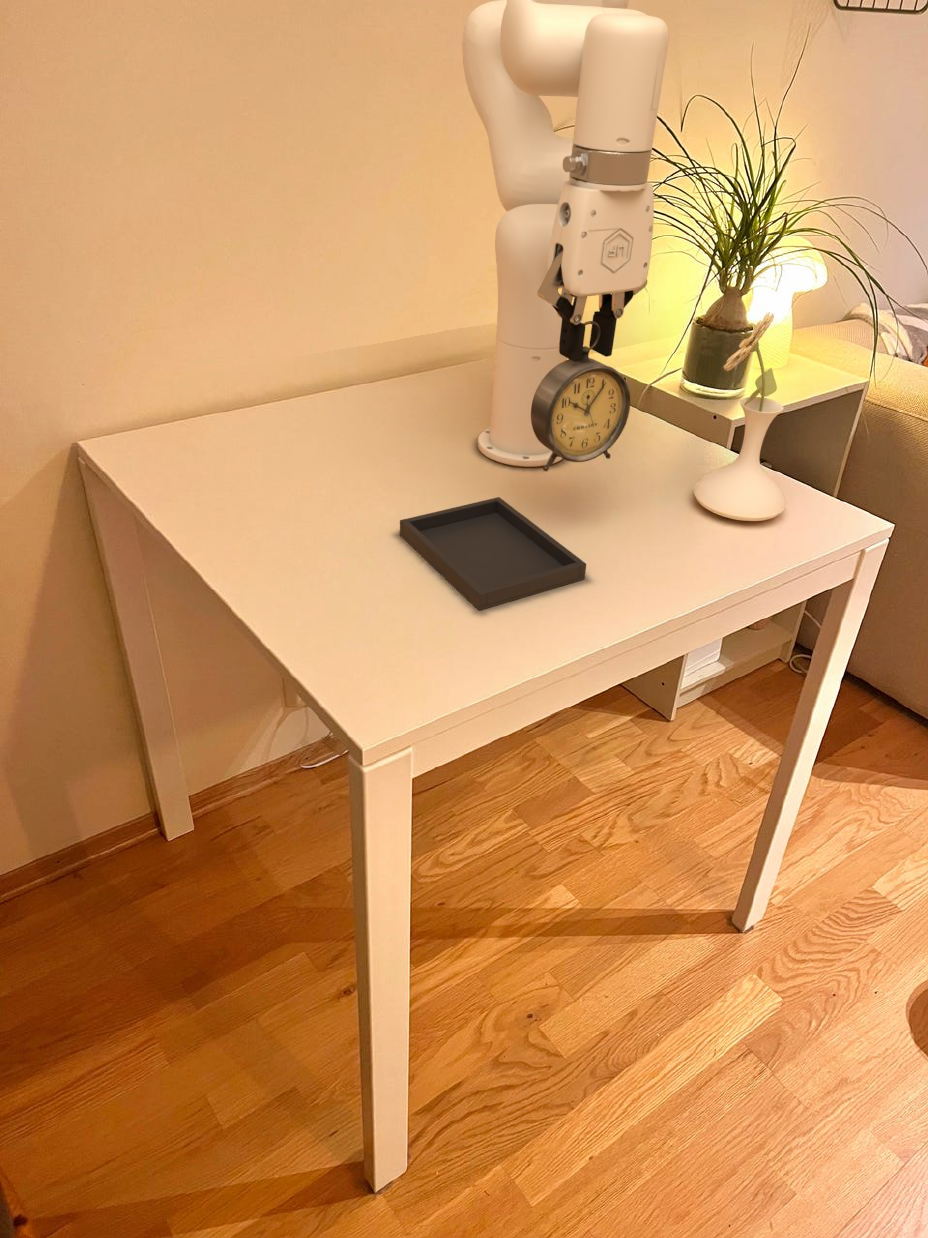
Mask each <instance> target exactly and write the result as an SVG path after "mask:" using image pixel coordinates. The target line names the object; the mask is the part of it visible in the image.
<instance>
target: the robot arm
mask: <svg viewBox="0 0 928 1238" xmlns="http://www.w3.org/2000/svg"><path fill="white" fill-rule="evenodd" d="M629 2H630V0H493V1H488V2H484V3H483V4H480V5H479V6H476V8H474V9H473V10H472V11H471V12H470V13H469V15H468V17H467V18H466V20H465V24H464V27H463V32H462V41H461V42H462V43H461V46H462V48H461V50H462V65H463V66H462V67H463V71H464V77H465V82H466V87H467V89H468V92H469V95H470V99H471V101H472V104H473V105H474V108H475V111H476V112H477V114H478V117H479V119H480V120H481V122H482V125H483V126H484V129H485V131H486V135H487V138H488V139H487V140H488V146H489V152H490V157H491V163H492V168H493V170H492V171H493V175H494V182H495V187H496V191H497V195H498V199H499V201H500V203H501V204H500V205H501V206H502V207H503V209H504V211H506V212H505V213H504V214H503V215H502V217H500V219H499V220H498V224H497V226H496V229H495V236H494V237H495V240H494V250H495V252H494V253H495V263H496V275H497V276H496V277H497V313H496V314H497V315H496V334H495V351H494V365H493V376H492V377H493V378H492V379H493V380H492V391H491V393H492V394H491V405H490V407H491V408H490V422H489V427H487V428H486V429H485V430H483V431H481V433H479V435H478V438H477V448H478V450H479V452H481V454H483V456H485V457H486V458H488V459H490V460H492V461H495V462H497V463H500V464H504V465H508V466H514V467H522V468H523V467H524V468H525V467H527V468H528V467H529V468H534V467H535V468H537V467H544V466H546V464H547V462H548V459H549V457H550V456H551V454H552V451H551V450H550V449H548V448H547V447H545V446H544V445H543V444H542V443H541V442H540V441H539V440H538V439H537V437H536V435H535V433H534V431H533V427H532V423H531V406H532V401H533V398H534V395H535V392H536V390H537V388H538V386H539V384H540V383H541V381H542V380H543V378H544V377H545V376H546V375H547V374H548V373H549V371H550V370H552V369H553V368H554V367H555V366H557V365H558V364H560V363H562V362H564V361H566V360H568V359H570V360H572V361H574V362H578V361H580V360H581V358H582V351H583V347H584V342H585V334H586V326H585V324H583V323H584V322H582V320H583V316H584V312H585V307H586V303H587V299H588V297H594V296H598V310H596V311H595V310H594V312H593V315H592V321H594V322H596V323H597V324H598V325H599V327H600V338H599V340H598V343H597V344H596V346H595V347H594V348H593V349H591V350H592V351H593V352H596V353H598V354H599V355H601V356H603V357H606V358H607V357H611V356H612V354H613V349H614V342H615V335H616V328H617V321H618V319H621V318H622V317H623V316H624V312H625V311H624V309H625V308H626V306H628V304H629V303H630V302H631V301H632V299H633V298H634V296H636V295H637V294H638V293H640V292H641V291H642V290H644V289H645V288H646V287H647V285H648V275H649V271H650V270H649V269H650V262H651V256H652V255H651V254H652V246H653V235H654V217H655V215H654V214H655V206H654V203H655V202H654V189H653V188H654V187H653V184H652V183H649V182H648V178H649V172H650V165H651V158H652V153H653V144H654V137H655V131H656V125H657V119H658V111H659V105H660V100H661V99H660V98H661V93H662V86H663V79H664V74H665V66H666V61H667V55H668V47H669V38H670V33H669V28H668V26H667V23H666V22H665V21H664V20H663V19H662V18H660V17H657V16H654V15H647V14H646V13H645V12H643V11H641V10H637V9H631V8H628V6H629ZM541 97H563V98H564V97H567V98H577V101H576V110H575V121H574V131H573V137H566V136H560V135H557V134H556V133H555V130H554V127H553V126H554V125H553V119H552V116H551V112H550V111H549V108H548V107H547V105H546V104H545V102H544V101H543V100H542V98H541ZM559 289H561V293H559ZM597 335H598V331H597V328H596V326H595V325H593V324H591V329H590V337H589V344H588V345H589V346H588V348H590V347H591V346H592V345H593V344H594V343H595V341H596V339H597ZM561 460H564V459H563V458H561V457H556V459H555V461H554V462H553V463H552V464H551V465H553V464H556V463H558V462H560V461H561Z"/></svg>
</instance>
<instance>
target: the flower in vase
mask: <svg viewBox="0 0 928 1238" xmlns="http://www.w3.org/2000/svg"><path fill="white" fill-rule="evenodd" d="M774 318H775V314H774V312H772V313H771V314H770V311H768V312H767V313H766V315H765V316H764V317H763V319H762V320H759V321H758V322H757V323H756V325H755V327H754V328H753V331H752V333H751V334H750V336H749V337H748V338H744V339H742V341H741V342H740V343H739V345H738V348H740V349H738V350H737V351H735V352H734V353H733V354H732V355H730V356H729V357H728V358H727V359H726V361H725V362H726V363H725V364H724V365H723V367H722V369H724V371H726V372H729V371H732V369H734V368H735V367H736V366H737V365H738V364H739V363H740V362H741V361H742V360H743V359H744V358H745V357H746V356H747V355H748V354H749V353H755V352H756V355H757V359H758V362H759V366H760V371H761V374H760V375H758V377H757V378H756V379H755V382H754V384H755V388H756V389H755V390H754V391H753V392H751V395H750V396H749V397H744V398H742V399H741V400H740V401H739V403H740V407H741V408H742V410H743V415H744V435H743V440H742V445H741V448H740V451H739V454H738V456H737V457H736V458H735V460H733V461H732V462H730V463H728V464H727V465H724V466H721V467H719V468H717V469H714V470H712V471H710V472H709V473H706V474H705V475H704V476H702V477H701V478H699V479H698V481H697V482H696V484H695V485H694V487H693V494H694V496H695V498H696V499H695V500H696V501H697V502H698V503H699V505H701V506H702V507H703V508H705V509H706V510H707V511H709V512H712V513H714V514H715V515H719V516H721V517H724V518H728V519H731V520H736V521H744V522H745V521H747V522H760V521H767V520H771V519H774V518H775V517H777V516H779V514H782V512H784V510H785V509H786V507H787V500H786V494H785V493H784V491H783V490H782V489H781V487H780V485H779V484H778V483H777V482H776V481H775V480H774V479H773V477H771V475H769V474H768V472H767V471H766V470H765V469H764V468H763V467H762V465H761V460H760V456H761V450H762V445H763V443H764V439H765V436H766V434H767V431H768V429H769V427H770V425H771V424H772V422H773V420H774V419H775V418H776V417H777V416H778V415H780V413H782V412H783V410H784V406H783V404H781V402H779V401H776V400H773V399H771V398H767V397H768V396H771V395H773V394H774V393H775V392H776V391H777V389H778V385H777V382H776V379H775V375H774V371H773V368H772V367H770V368H768V369H766V370H765V366H764V362H763V361H764V360H763V358H762V354H761V351H760V343H759V341H760V339H761V338H762V337H763V336H764V334H765V333H766V332H767V330H768V328H769V327H770V326H771V324H772V322H773V321H774ZM759 395H760V396H759Z"/></svg>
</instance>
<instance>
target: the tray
mask: <svg viewBox="0 0 928 1238" xmlns="http://www.w3.org/2000/svg"><path fill="white" fill-rule="evenodd" d="M399 536H400V537H401V538H403V540H404V541H405V542H406V543H407V544H408V545H410V547H412V548H413V550H414V551H416V552H417V553H418V554H419V555H420V556H421V557H422V558H423V559H424V560H425V561H426V562H427V563H429V565H431V567H433V569H434V570H436V571H437V573H439V574H440V575H441V576H442V577H443V578H444V579H445V580H446V581H447V582H448V583H449V584H450V585H451V586H453V588H454V589H455V590H457V591H458V592H459V593H460V594H461V595H462V596H463V597H464V598H465V599H466V600H467V601H468V602H470V603H471V605H472V606H473V607H474V608H476V609H477V610H478V611H482V610H486V609H489V608H493V607H497V606H500V605H503V604H506V603H510V602H513V601H516V600H521V599H523V598H526V597H530V596H534V595H536V594H540V593H543V592H547V591H550V590H554V589H557V588H560V587H564V586H567V585H570V584H574V583H576V582H577V583H578V582H581V581H584V580H585V579H586V577H585V576H586V570H587V563H586V562H585V561H583V560H582V559H581V558H580V557H579V556H577V555H576V554H574V553H573V552H572V551H570V549H568V548H566V547H565V546H564V545H563V544H561V543H560V542H559V541H557V540H556V539H555V538H553V536H552V535H549V534H548V533H547V532H546V531H544V530H543V529H542V528H540V527H539V526H538V525H536V524H535V523H534V522H532V521H531V520H530V519H529V518H527V517H526V516H524V515H523V514H522V513H521V512H519V511H518V510H517V509H515V508H514V507H513V506H512V505H510V504H509V503H508V502H506V501H505V500H504V499H502V498H501V497H500V496H497V497H493V498H489V499H488V498H487V499H485V500H480V501H477V502H472V503H468V504H462V505H458V506H455V507H451V508H446V509H442V510H438V511H433V512H429V513H425V514H420V515H416V516H412V517H408V518H404V519H400V520H399Z"/></svg>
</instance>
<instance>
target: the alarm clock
mask: <svg viewBox="0 0 928 1238" xmlns="http://www.w3.org/2000/svg"><path fill="white" fill-rule="evenodd" d="M582 323H583V324H585V327H586V326H588V325H592V324H593V325H595V326H596V328H597V331H598V335H597V339H596V341H595V343H594V344H593V345H592V346H591V347H589V346H586V345H583V351H582V358H581V360H580V361H578V362H574V361H572V360H570V359H568V358H567V360H566V361H564V362H562V363H560V364H558V365H557V366H555V367H554V368H553V369H552V370H550V371H549V373H548V374H547V375H546V376H545V377H544V378H543V380H542V381H541V383H540V384H539V386H538V388H537V390H536V392H535V395H534V398H533V401H532V406H531V423H532V427H533V431H534V433H535V435H536V437H537V439H538V440H539V441H540V442H541V443H542V444H543V445H544V446H545V447H547V448H548V449H550V450H551V451H552V454H551V456H550V457H549V459H548V462H547V464H546V465H545V466H542V470H543V471H544V472H548V471H549V470H550V467H551V466H552V465H553V464H554V463H553V462H554V461H555V459H556V457H561V458H563V459H562V460H564V461H568V462H571V463H584V462H585V463H586V462H588V461H591V460H594V459H596V458H598V457H600V456H601V455H604V456H605V458H606V459H607V460H609V459H611V454H610V453H609V452H608V450H609V449H610V448H612V446H613V445H614V444H615V443H616V442H617V440H618V439H619V437H620V436H621V434H623V433H622V432H623V431H624V429H625V427H626V424H627V423H628V418H629V416H630V410H631V393H630V387H629V385H628V382H627V381H626V379H625V378H624V376H623V374H621V373H620V371H618V369H617V370H616V368H614V367H612V366H609V365H606V364H604V363H602V362H600V361H598V360H596V359H593V358H592V357H591V358H590V356H589V353H590V351H591V350H592V349H593V348H594V347H595V346H596V344H597V343H598V340H599V338H600V327H599V325H598V324H597V323H596V322H594V321H593V320H588V321H585V322H582ZM552 463H553V464H552Z"/></svg>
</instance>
